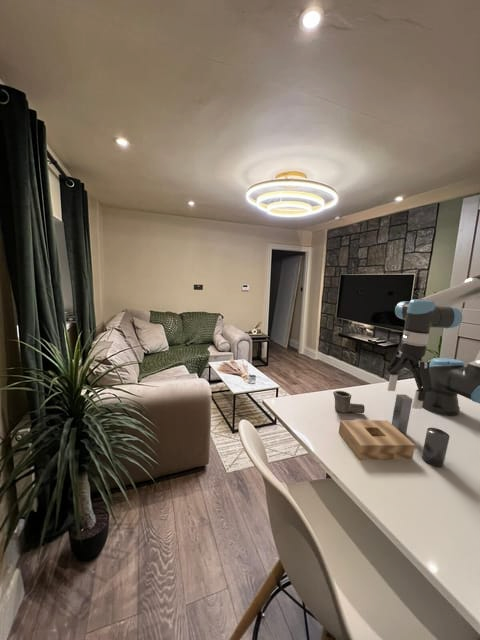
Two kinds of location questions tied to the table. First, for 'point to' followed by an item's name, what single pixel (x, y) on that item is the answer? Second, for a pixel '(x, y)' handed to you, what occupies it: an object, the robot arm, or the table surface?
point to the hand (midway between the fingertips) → (403, 398)
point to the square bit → (401, 412)
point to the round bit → (435, 447)
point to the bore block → (375, 440)
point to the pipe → (346, 403)
